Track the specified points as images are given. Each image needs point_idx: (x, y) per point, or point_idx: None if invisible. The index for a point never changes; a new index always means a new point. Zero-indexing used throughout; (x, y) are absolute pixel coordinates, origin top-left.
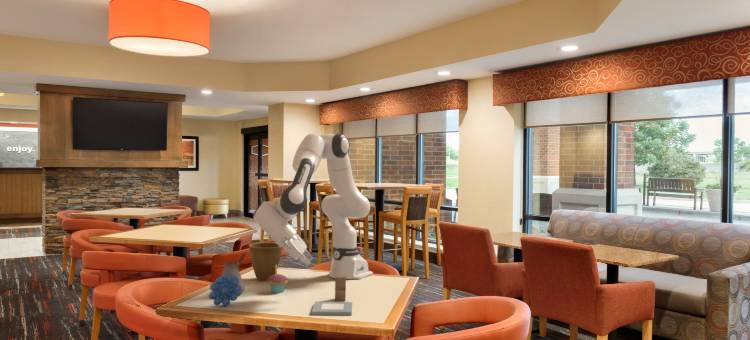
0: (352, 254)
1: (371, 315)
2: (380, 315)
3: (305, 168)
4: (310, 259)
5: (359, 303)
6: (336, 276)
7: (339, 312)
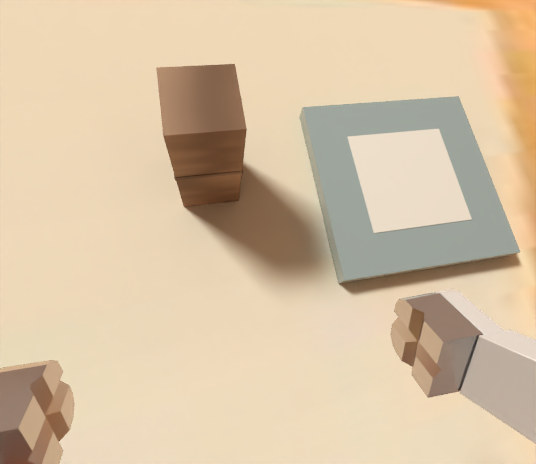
0: None
1: (424, 43)
2: (414, 18)
3: None
4: (57, 398)
5: (260, 91)
6: (182, 128)
7: (473, 140)
